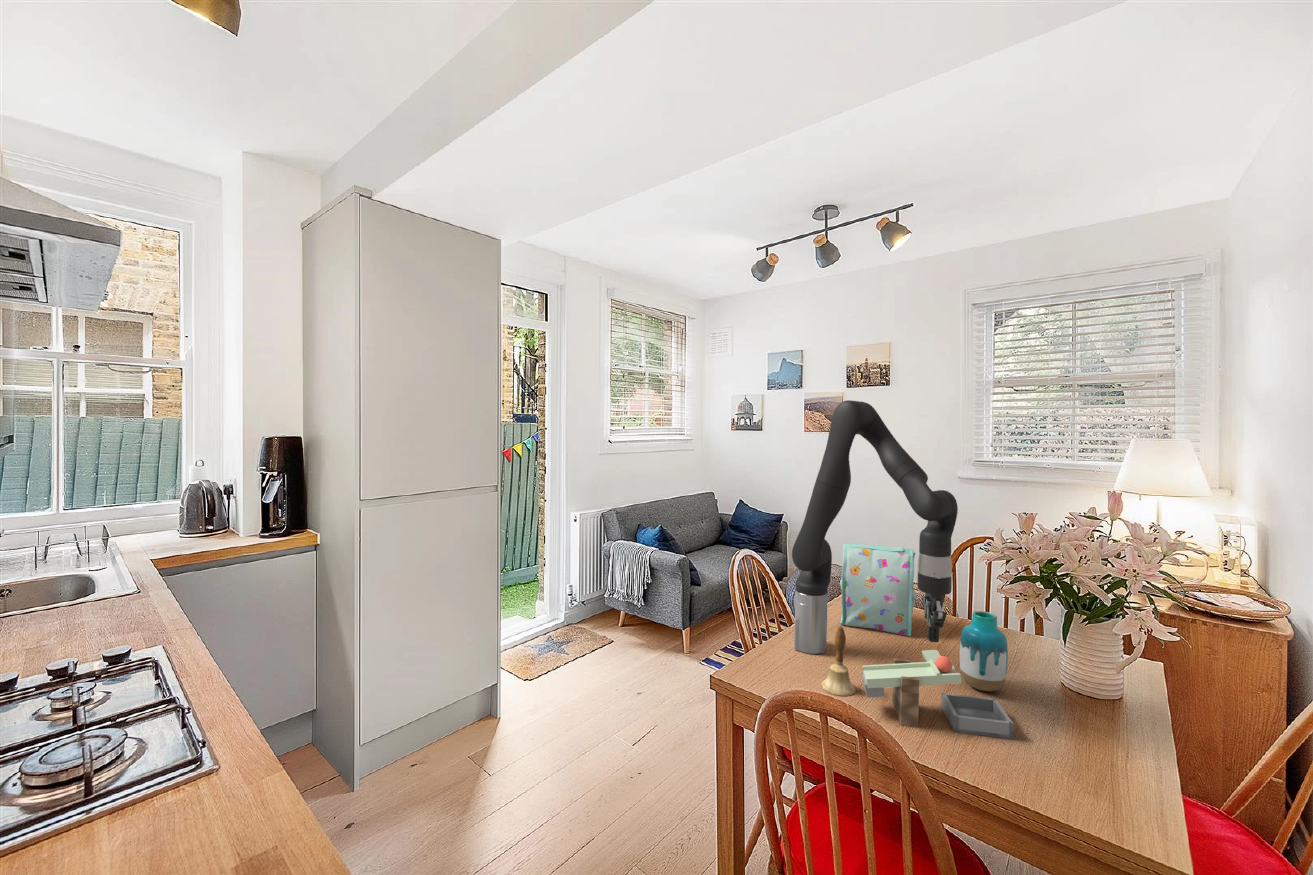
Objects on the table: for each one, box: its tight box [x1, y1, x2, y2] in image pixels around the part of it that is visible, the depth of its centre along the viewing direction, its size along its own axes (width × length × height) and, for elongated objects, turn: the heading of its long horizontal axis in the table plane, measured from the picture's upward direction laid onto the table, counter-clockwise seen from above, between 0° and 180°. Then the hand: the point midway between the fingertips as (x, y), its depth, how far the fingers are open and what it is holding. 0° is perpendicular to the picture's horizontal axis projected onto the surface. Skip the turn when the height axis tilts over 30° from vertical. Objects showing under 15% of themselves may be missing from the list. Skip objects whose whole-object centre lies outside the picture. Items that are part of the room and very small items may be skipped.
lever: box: [861, 649, 963, 698], centre depth 133 cm, size 20×16×5 cm
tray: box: [940, 692, 1015, 740], centre depth 126 cm, size 12×11×4 cm
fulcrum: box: [891, 658, 920, 728], centre depth 129 cm, size 4×10×11 cm, turn 167°
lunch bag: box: [839, 543, 916, 637], centre depth 183 cm, size 23×16×27 cm
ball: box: [935, 655, 954, 672], centre depth 127 cm, size 4×4×4 cm
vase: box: [959, 610, 1009, 692], centre depth 141 cm, size 11×11×19 cm
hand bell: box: [821, 626, 856, 697], centre depth 141 cm, size 8×8×16 cm
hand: (933, 640), depth 137 cm, fingers closed
